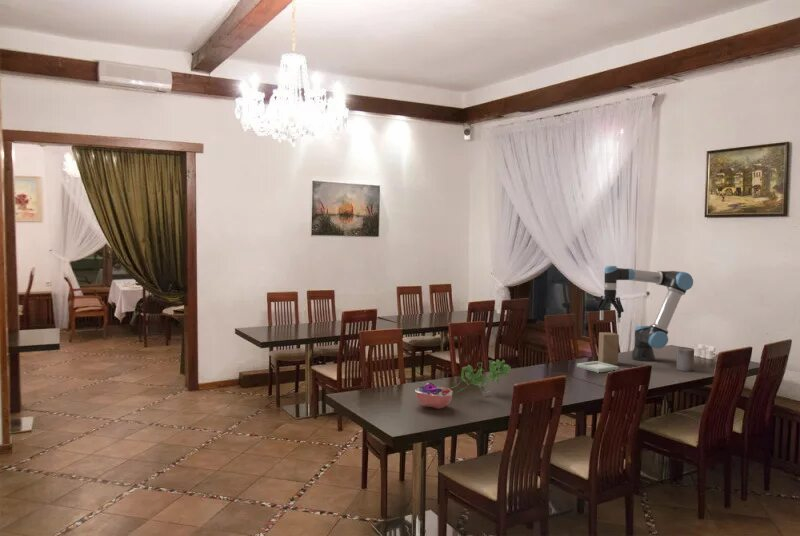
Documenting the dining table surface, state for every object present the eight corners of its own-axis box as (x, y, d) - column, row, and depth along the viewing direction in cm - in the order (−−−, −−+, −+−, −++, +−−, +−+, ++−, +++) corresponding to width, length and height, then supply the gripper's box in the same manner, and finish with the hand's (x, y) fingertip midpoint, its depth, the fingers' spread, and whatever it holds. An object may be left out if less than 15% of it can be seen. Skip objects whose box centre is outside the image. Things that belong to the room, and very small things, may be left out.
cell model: (433, 415, 270) (433, 391, 269) (407, 405, 286) (408, 382, 286) (461, 409, 280) (461, 386, 279) (434, 399, 296) (434, 377, 296)
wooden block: (618, 365, 383) (619, 334, 382) (602, 364, 384) (603, 334, 383) (612, 361, 393) (613, 332, 392) (597, 361, 394) (598, 332, 393)
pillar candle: (689, 368, 376) (690, 345, 375) (695, 371, 366) (696, 348, 366) (674, 368, 377) (674, 344, 376) (679, 371, 367) (680, 347, 367)
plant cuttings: (450, 411, 300) (476, 392, 286) (437, 381, 307) (462, 361, 293) (495, 399, 322) (521, 381, 308) (481, 371, 330) (507, 353, 315)
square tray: (596, 364, 385) (597, 361, 385) (618, 369, 369) (618, 366, 369) (576, 366, 377) (576, 363, 377) (598, 372, 361) (598, 369, 361)
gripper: (591, 288, 394) (591, 319, 395) (622, 291, 372) (621, 324, 373) (599, 287, 398) (598, 318, 399) (629, 290, 376) (629, 323, 377)
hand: (609, 321), depth 386 cm, fingers open, 13 cm apart
